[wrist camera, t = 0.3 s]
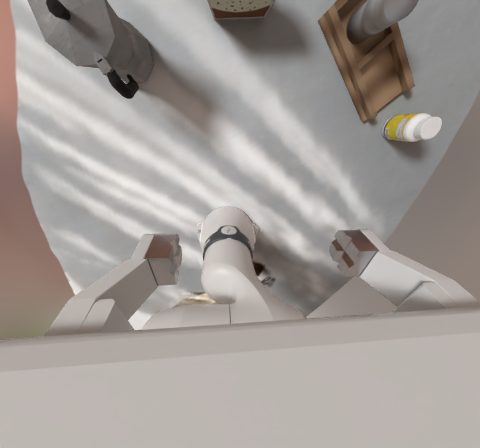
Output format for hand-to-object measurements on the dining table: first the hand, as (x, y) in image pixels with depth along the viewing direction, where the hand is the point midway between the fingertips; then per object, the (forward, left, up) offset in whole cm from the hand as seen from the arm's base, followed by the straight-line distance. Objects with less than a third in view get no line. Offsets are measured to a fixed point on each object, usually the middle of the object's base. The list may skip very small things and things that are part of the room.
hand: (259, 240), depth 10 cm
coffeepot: (+14, +20, -41) cm, 48 cm away
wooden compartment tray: (+19, -26, -40) cm, 52 cm away
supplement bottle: (+7, -39, -41) cm, 56 cm away
